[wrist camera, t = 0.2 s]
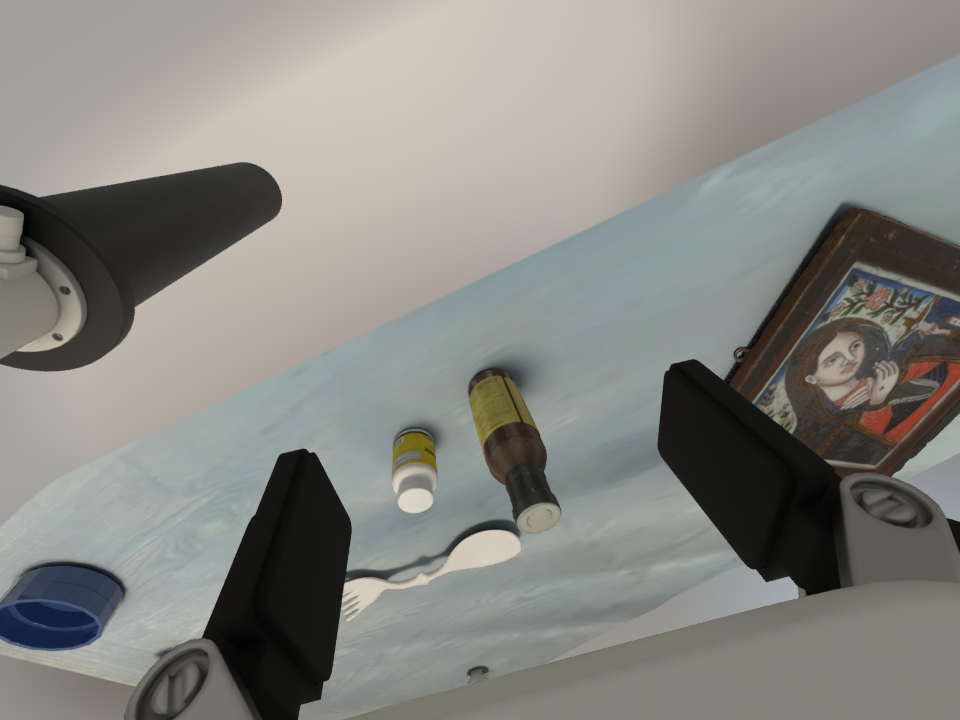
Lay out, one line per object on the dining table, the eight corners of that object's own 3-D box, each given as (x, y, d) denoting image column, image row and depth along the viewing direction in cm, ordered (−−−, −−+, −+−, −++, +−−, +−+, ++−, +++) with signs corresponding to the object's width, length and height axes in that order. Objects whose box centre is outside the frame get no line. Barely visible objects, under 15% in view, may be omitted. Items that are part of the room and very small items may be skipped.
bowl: (23, 554, 52) (-12, 592, 47) (132, 571, 56) (110, 607, 52) (15, 606, 56) (-18, 645, 52) (117, 617, 61) (95, 654, 56)
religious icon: (831, 199, 45) (857, 203, 42) (1055, 283, 56) (1087, 290, 54) (662, 462, 62) (674, 476, 60) (860, 483, 74) (876, 496, 72)
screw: (468, 666, 86) (489, 665, 87) (463, 677, 88) (484, 676, 89) (477, 745, 75) (501, 743, 76) (471, 756, 77) (495, 753, 78)
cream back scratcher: (321, 576, 63) (317, 598, 60) (510, 512, 63) (515, 531, 60) (348, 604, 68) (345, 625, 65) (523, 544, 67) (528, 563, 64)
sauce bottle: (460, 402, 50) (487, 540, 33) (477, 361, 48) (515, 488, 31) (506, 412, 52) (553, 546, 35) (524, 373, 50) (584, 498, 33)
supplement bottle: (437, 453, 54) (442, 512, 46) (398, 461, 54) (396, 522, 45) (430, 423, 51) (435, 480, 43) (389, 431, 51) (385, 490, 43)
